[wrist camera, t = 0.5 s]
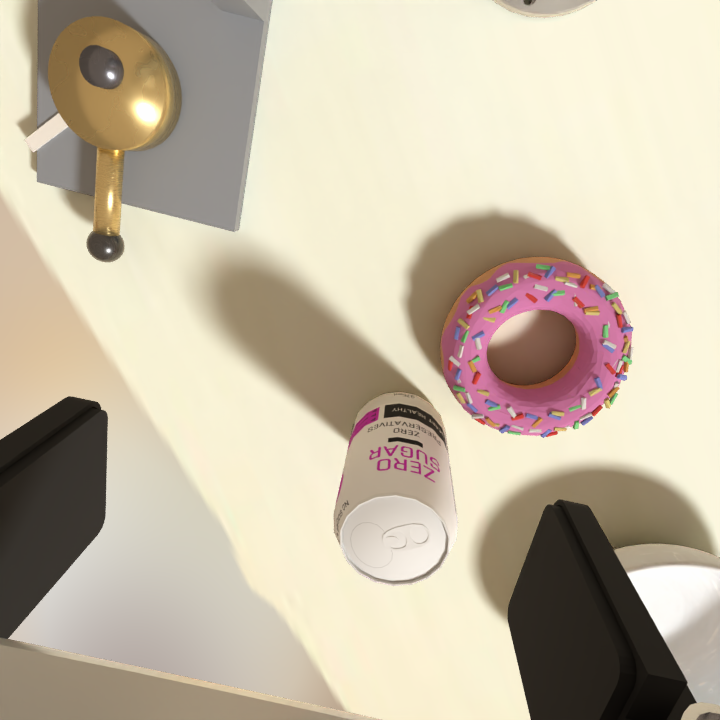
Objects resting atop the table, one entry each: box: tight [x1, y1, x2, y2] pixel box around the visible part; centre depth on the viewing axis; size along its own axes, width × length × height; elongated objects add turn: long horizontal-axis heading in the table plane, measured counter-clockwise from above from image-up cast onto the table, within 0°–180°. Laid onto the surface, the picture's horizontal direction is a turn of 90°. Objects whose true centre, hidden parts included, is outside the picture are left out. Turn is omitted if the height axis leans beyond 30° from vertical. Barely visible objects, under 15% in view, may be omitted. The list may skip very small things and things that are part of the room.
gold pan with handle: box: [48, 16, 182, 262], centre depth 37 cm, size 16×8×4 cm, turn 167°
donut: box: [440, 257, 633, 438], centre depth 41 cm, size 14×14×5 cm
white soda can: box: [334, 392, 458, 586], centre depth 40 cm, size 8×8×15 cm
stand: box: [24, 0, 272, 232], centre depth 32 cm, size 20×17×13 cm
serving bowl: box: [614, 544, 720, 706], centre depth 48 cm, size 21×21×7 cm
